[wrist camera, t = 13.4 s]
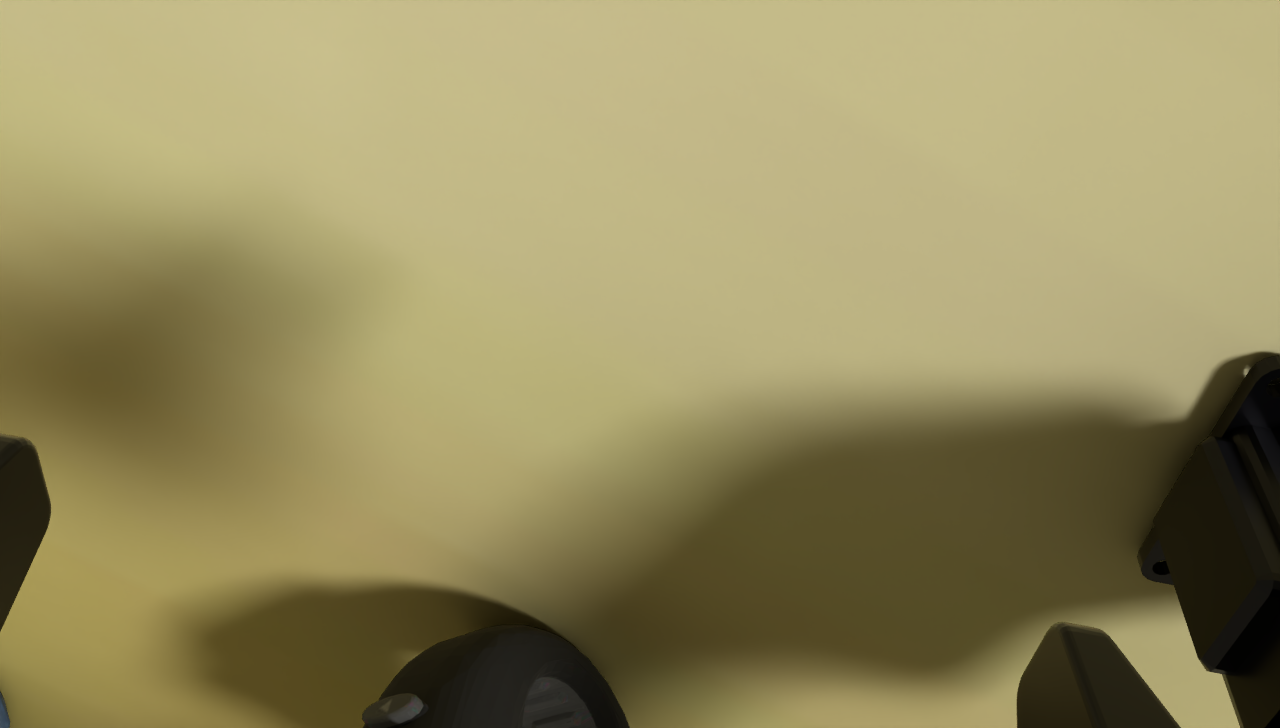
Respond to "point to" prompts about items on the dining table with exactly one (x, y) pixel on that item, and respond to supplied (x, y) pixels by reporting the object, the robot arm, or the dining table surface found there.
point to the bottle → (3, 714)
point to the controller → (498, 685)
